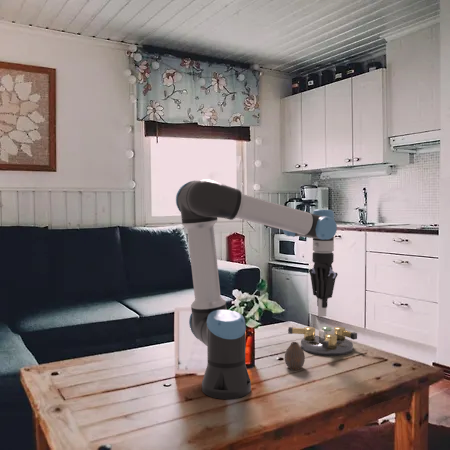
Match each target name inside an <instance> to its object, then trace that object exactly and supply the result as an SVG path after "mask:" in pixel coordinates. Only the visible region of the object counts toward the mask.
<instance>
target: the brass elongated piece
mask: <svg viewBox="0 0 450 450" xmlns="http://www.w3.org/2000/svg"><path fill="white" fill-rule="evenodd" d="M333 330H335V335H337V341H344V340H345V339H346V338H350V339H351V340H357V339H358V333H357V332H354V331H350V330H346V327H344V326H335V327H333Z"/></svg>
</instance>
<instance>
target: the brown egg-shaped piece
mask: <svg viewBox="0 0 450 450" xmlns="http://www.w3.org/2000/svg"><path fill="white" fill-rule="evenodd" d="M305 359H306V356H305V352H304V350H303V349H302V348H301V345H299V342H298V341H292V342H290V344H289V346H288V347H287V348H286V350H285V353H284V362H285V364H286V367H287V368H288V369H290V370H295V371H296V370H300V369H301V368H302V367H303V366H304V364H305Z"/></svg>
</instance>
